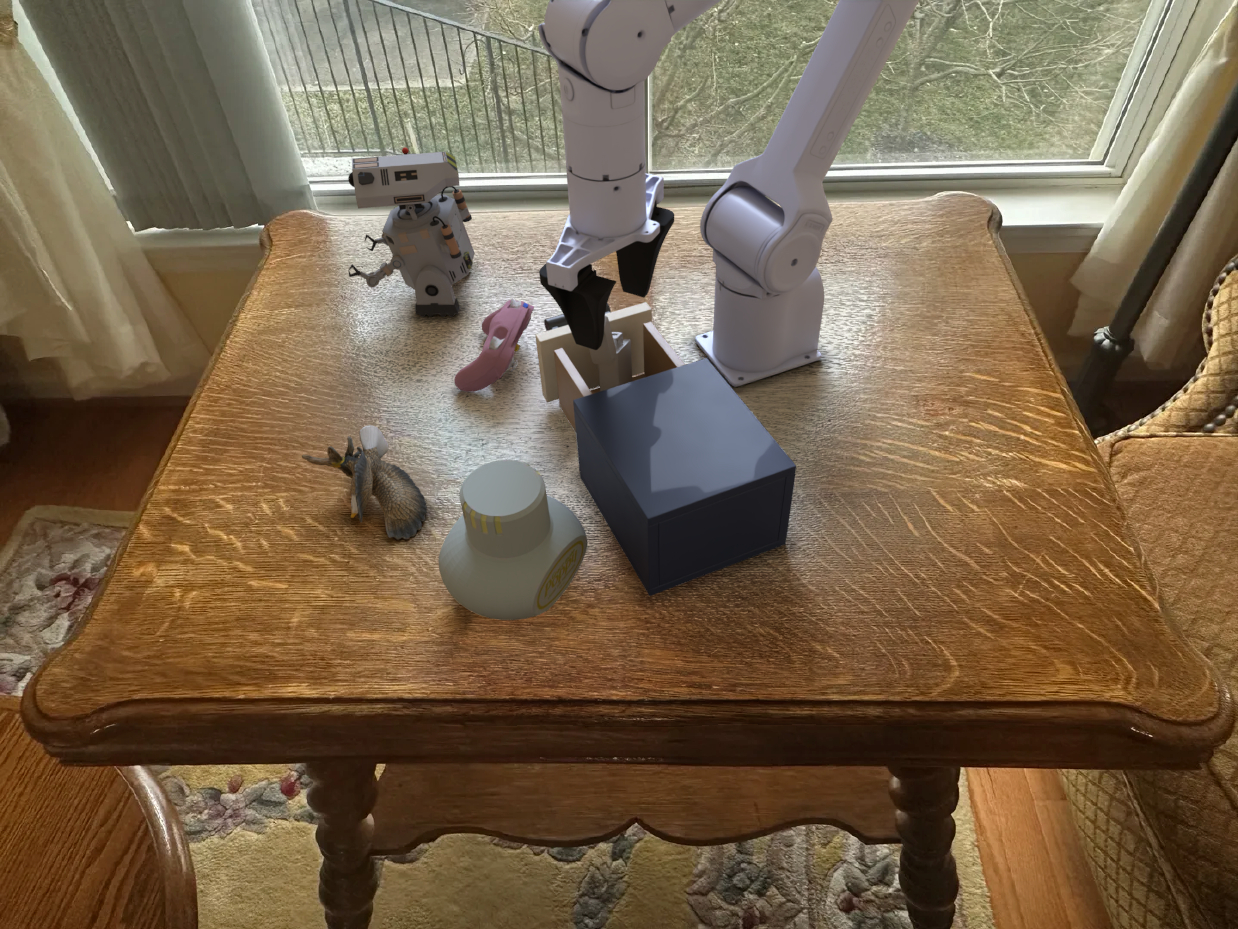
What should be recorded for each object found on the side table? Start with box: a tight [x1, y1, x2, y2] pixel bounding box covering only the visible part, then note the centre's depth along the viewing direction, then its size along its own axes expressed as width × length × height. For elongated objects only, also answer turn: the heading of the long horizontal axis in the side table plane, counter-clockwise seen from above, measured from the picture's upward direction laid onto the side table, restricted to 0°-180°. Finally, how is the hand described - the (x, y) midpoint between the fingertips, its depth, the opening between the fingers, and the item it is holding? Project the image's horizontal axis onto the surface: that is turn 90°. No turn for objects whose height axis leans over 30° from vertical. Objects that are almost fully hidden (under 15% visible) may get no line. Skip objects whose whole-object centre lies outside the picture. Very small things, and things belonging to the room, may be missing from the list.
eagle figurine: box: [301, 424, 428, 540], centre depth 75 cm, size 8×7×9 cm
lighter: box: [589, 315, 633, 391], centre depth 78 cm, size 7×2×8 cm, turn 162°
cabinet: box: [573, 357, 797, 597], centre depth 72 cm, size 14×12×9 cm
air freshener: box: [437, 459, 588, 621], centre depth 67 cm, size 11×8×10 cm
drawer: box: [534, 301, 686, 434], centre depth 81 cm, size 17×10×7 cm, turn 24°
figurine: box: [347, 146, 475, 318], centre depth 93 cm, size 9×12×15 cm
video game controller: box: [454, 297, 535, 393], centre depth 87 cm, size 10×5×7 cm, turn 168°
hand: (612, 317), depth 77 cm, fingers open, 7 cm apart
